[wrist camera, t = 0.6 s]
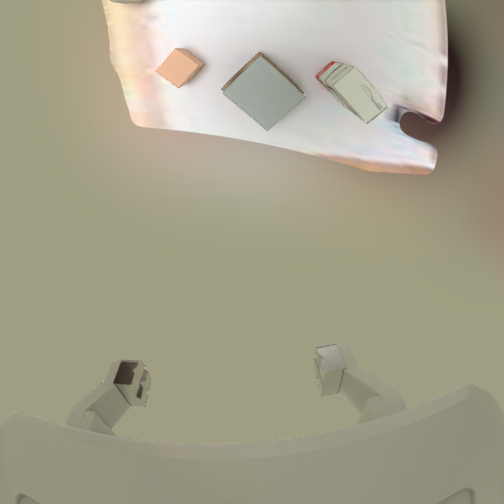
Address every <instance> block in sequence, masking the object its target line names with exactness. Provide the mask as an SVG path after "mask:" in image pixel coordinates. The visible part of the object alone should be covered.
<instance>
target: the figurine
mask: <svg viewBox="0 0 504 504" xmlns="http://www.w3.org/2000/svg"><path fill="white" fill-rule="evenodd" d="M110 1H112V2H116V3H125V4H128V3H136V2H140V1H143V0H110Z"/></svg>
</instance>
